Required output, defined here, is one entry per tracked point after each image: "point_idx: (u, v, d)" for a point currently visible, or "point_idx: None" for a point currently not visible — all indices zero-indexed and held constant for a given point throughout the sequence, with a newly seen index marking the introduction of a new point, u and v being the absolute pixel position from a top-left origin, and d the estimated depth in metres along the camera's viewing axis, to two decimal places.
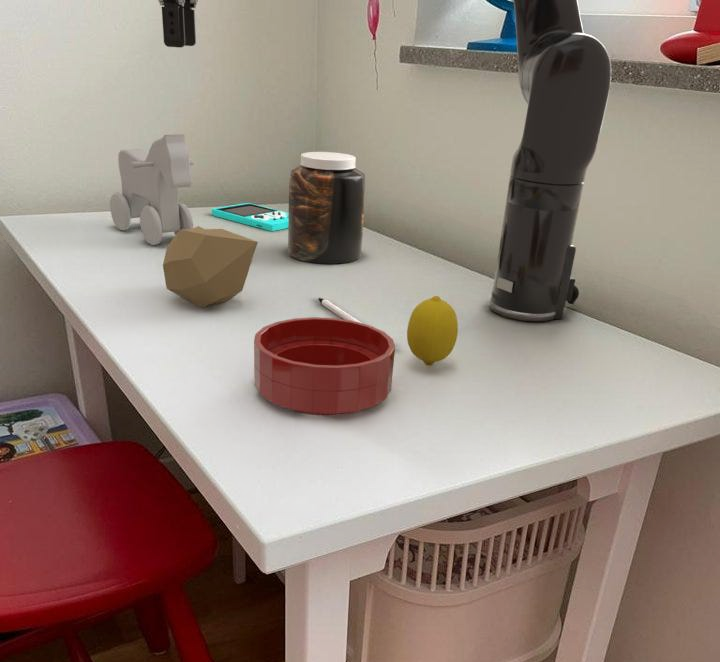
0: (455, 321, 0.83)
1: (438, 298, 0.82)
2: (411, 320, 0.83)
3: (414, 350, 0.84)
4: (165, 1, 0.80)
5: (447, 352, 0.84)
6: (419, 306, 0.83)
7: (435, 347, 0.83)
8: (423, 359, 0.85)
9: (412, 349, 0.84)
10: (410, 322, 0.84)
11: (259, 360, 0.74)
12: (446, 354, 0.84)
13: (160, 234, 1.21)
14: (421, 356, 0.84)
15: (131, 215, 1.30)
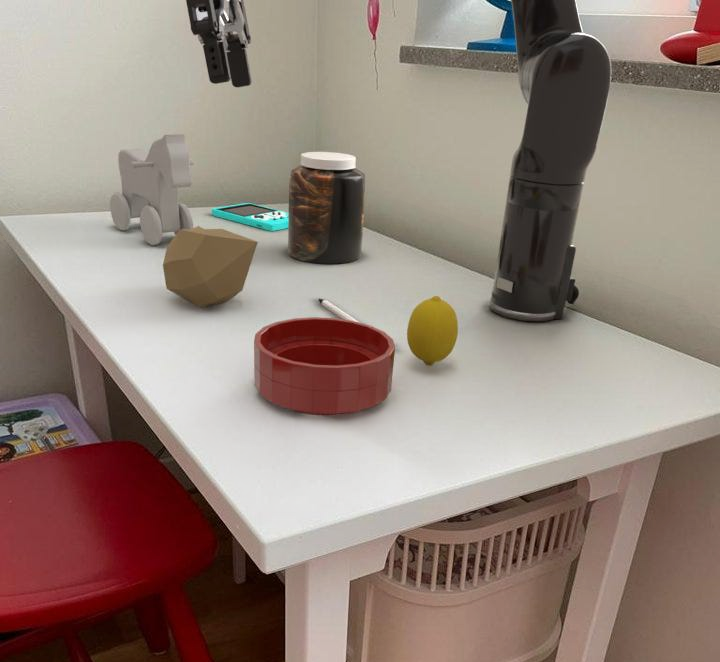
0: (455, 321, 0.83)
1: (438, 298, 0.82)
2: (411, 320, 0.83)
3: (414, 350, 0.84)
4: (203, 37, 0.79)
5: (447, 352, 0.84)
6: (419, 306, 0.83)
7: (435, 347, 0.83)
8: (423, 359, 0.85)
9: (412, 349, 0.84)
10: (410, 322, 0.84)
11: (259, 360, 0.74)
12: (446, 354, 0.84)
13: (160, 234, 1.21)
14: (421, 356, 0.84)
15: (131, 215, 1.30)
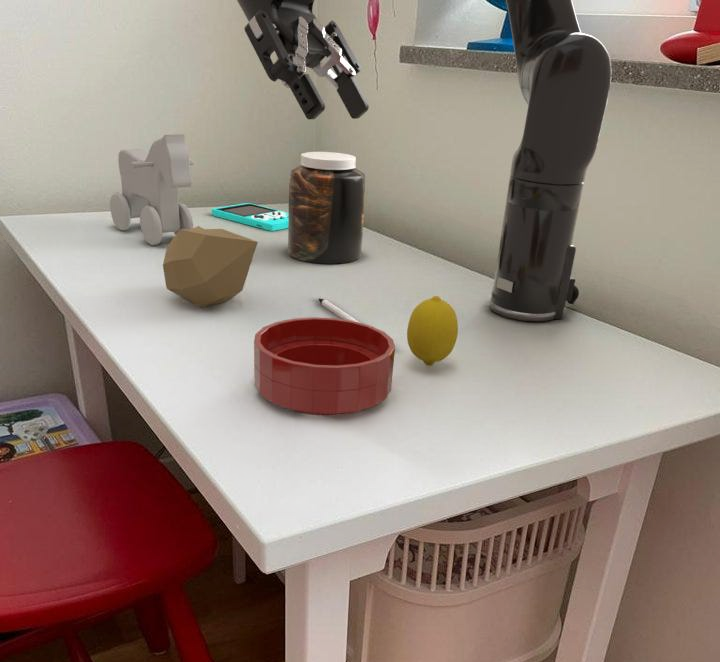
0: (455, 321, 0.83)
1: (438, 298, 0.82)
2: (411, 320, 0.83)
3: (414, 350, 0.84)
4: (284, 79, 0.76)
5: (447, 352, 0.84)
6: (419, 306, 0.83)
7: (435, 347, 0.83)
8: (423, 359, 0.85)
9: (412, 349, 0.84)
10: (410, 322, 0.84)
11: (259, 360, 0.74)
12: (446, 354, 0.84)
13: (160, 234, 1.21)
14: (421, 356, 0.84)
15: (131, 215, 1.30)
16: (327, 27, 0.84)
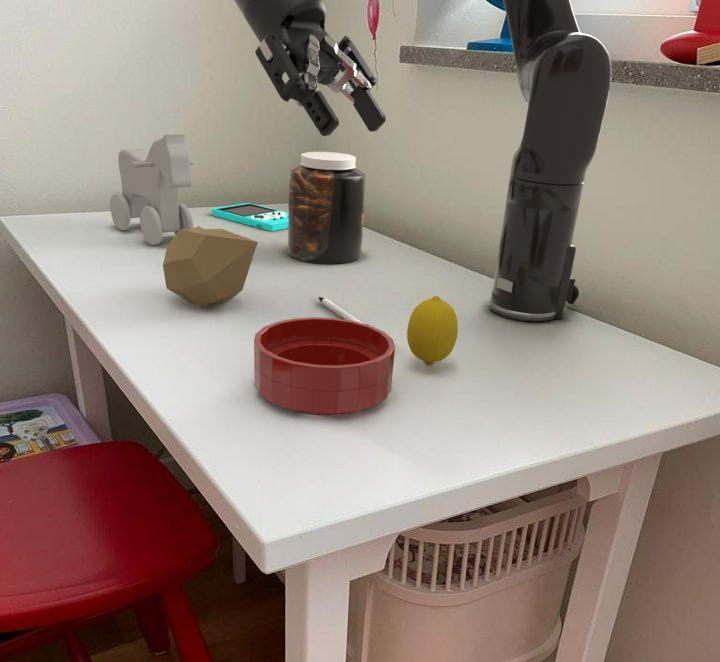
0: (455, 321, 0.83)
1: (438, 298, 0.82)
2: (411, 320, 0.83)
3: (414, 350, 0.84)
4: (297, 98, 0.76)
5: (447, 352, 0.84)
6: (419, 306, 0.83)
7: (435, 347, 0.83)
8: (423, 359, 0.85)
9: (412, 349, 0.84)
10: (410, 322, 0.84)
11: (259, 360, 0.74)
12: (446, 354, 0.84)
13: (160, 234, 1.21)
14: (421, 356, 0.84)
15: (131, 215, 1.30)
16: (341, 43, 0.84)
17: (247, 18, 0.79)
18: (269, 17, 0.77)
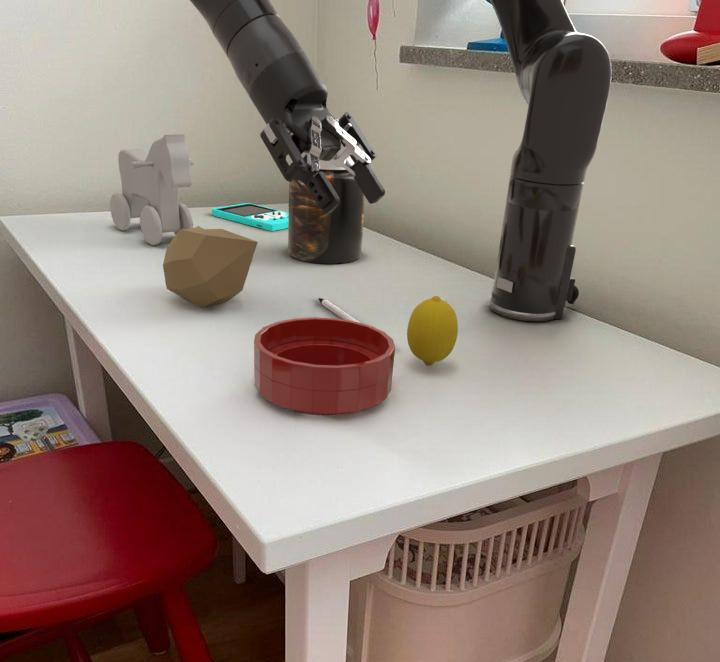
0: (455, 321, 0.83)
1: (438, 298, 0.82)
2: (411, 320, 0.83)
3: (414, 350, 0.84)
4: (300, 179, 0.80)
5: (447, 352, 0.84)
6: (419, 306, 0.83)
7: (435, 347, 0.83)
8: (423, 359, 0.85)
9: (412, 349, 0.84)
10: (410, 322, 0.84)
11: (259, 360, 0.74)
12: (446, 354, 0.84)
13: (160, 234, 1.21)
14: (421, 356, 0.84)
15: (131, 215, 1.30)
16: (342, 118, 0.87)
17: (252, 99, 0.83)
18: (273, 101, 0.80)
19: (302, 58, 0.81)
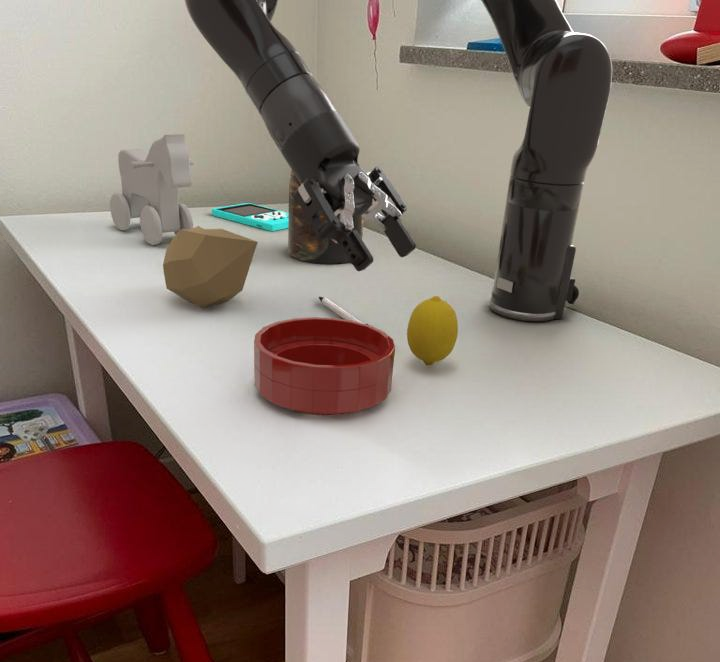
0: (455, 321, 0.83)
1: (438, 298, 0.82)
2: (411, 320, 0.83)
3: (414, 350, 0.84)
4: (333, 237, 0.80)
5: (447, 352, 0.84)
6: (419, 306, 0.83)
7: (435, 347, 0.83)
8: (423, 359, 0.85)
9: (412, 349, 0.84)
10: (410, 322, 0.84)
11: (259, 360, 0.74)
12: (446, 354, 0.84)
13: (160, 234, 1.21)
14: (421, 356, 0.84)
15: (131, 215, 1.30)
16: (372, 173, 0.88)
17: (285, 156, 0.83)
18: (307, 159, 0.81)
19: (335, 116, 0.81)
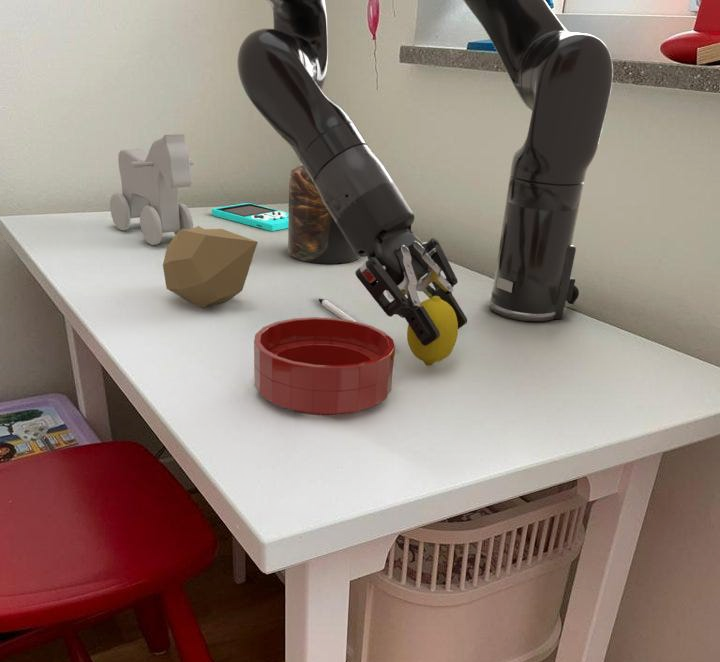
0: (455, 321, 0.83)
1: (438, 298, 0.82)
2: None
3: (414, 350, 0.84)
4: (401, 313, 0.81)
5: (447, 352, 0.84)
6: (419, 306, 0.83)
7: (435, 347, 0.83)
8: (423, 359, 0.85)
9: (412, 349, 0.84)
10: None
11: (259, 360, 0.74)
12: (446, 354, 0.84)
13: (160, 234, 1.21)
14: (421, 356, 0.84)
15: (131, 215, 1.30)
16: (428, 243, 0.87)
17: (339, 226, 0.83)
18: (363, 231, 0.80)
19: (392, 187, 0.81)
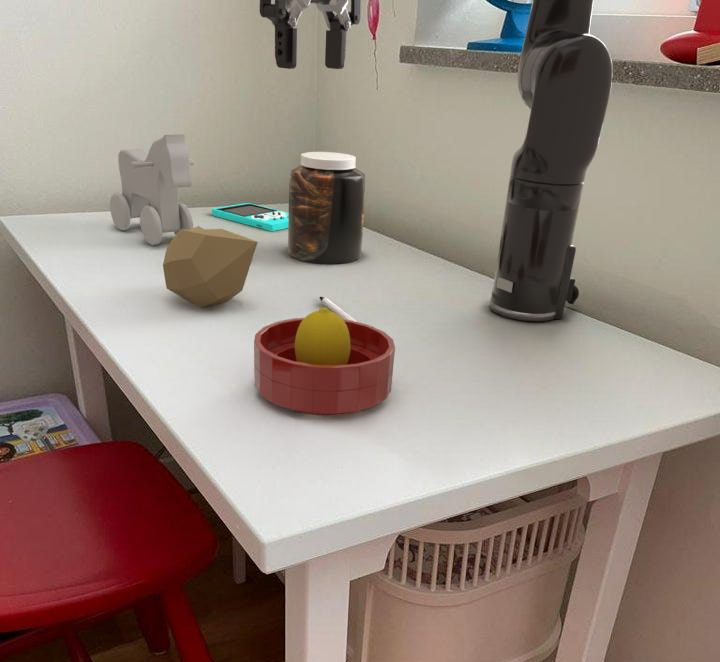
0: (346, 335, 0.75)
1: (326, 310, 0.74)
2: (297, 334, 0.75)
3: None
4: (273, 21, 0.78)
5: None
6: (305, 319, 0.75)
7: (323, 364, 0.75)
8: None
9: None
10: (296, 336, 0.75)
11: (259, 360, 0.74)
12: None
13: (160, 234, 1.21)
14: None
15: (131, 215, 1.30)
16: None
17: None
18: None
19: None
